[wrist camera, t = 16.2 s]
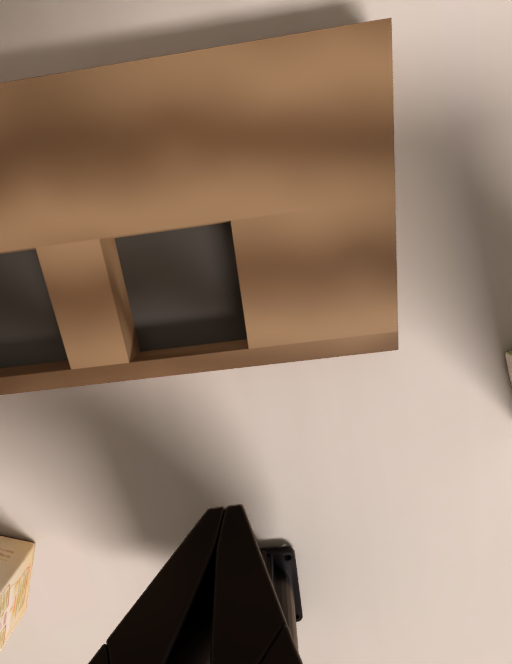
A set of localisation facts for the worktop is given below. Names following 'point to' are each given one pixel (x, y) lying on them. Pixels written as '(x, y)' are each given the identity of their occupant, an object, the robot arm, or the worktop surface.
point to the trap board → (199, 211)
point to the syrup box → (509, 363)
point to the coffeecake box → (13, 583)
